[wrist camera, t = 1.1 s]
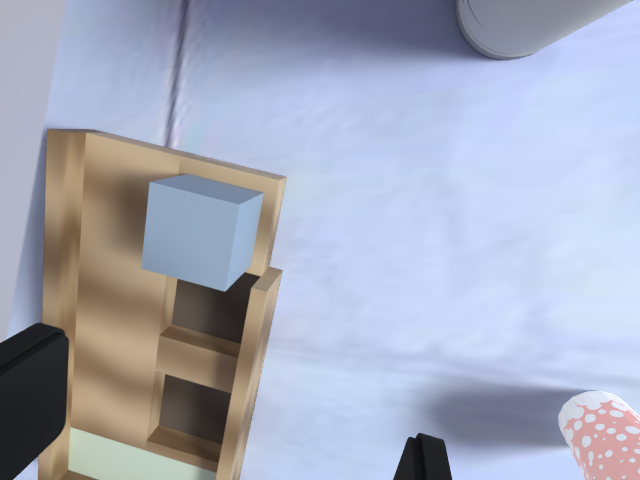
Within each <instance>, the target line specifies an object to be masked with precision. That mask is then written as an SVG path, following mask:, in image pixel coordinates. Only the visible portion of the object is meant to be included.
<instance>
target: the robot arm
mask: <svg viewBox="0 0 640 480" xmlns="http://www.w3.org/2000/svg"><path fill="white" fill-rule="evenodd" d="M68 359H69V339H68V337H66V336H65V332H64V330H63V329H61V328H58V327H54V326H51V325H47V324H44V323H37V324H34V325H32V326H30V327H28V328H27V329H25V330H23V331H21V332H20V333H18V334H16V335H14V336H12V337H11V338H9V339H7V340H5V341H3V342H2V343H0V480H13V479H14V478H15V477H16V476H17V475H19V474H20V473H21V472H22V471H23V470H24V469H25V468H26V467H27V466H28V465H29V464H30V463H31V462H32V461H33V460H34V459H35V458H36V457H38V456H39V455H40V454H41V453H42V452H43V451H44V450H45V449H46V448H47V447H48V446H49V445H50V444H51V443H52V442H53V441H54V440H56V439H57V437H58V436H59V435H60V434H61V432H62V431H63V429H64V426H65V423H66V407H67V383H68ZM393 480H452V476H451V471H450V466H449V461H448V456H447V451H446V446H445V443H444V441H443V439H439V438H436V437H432V436H429V435H425V434H422V433H418V435H417V436H416V438H412V437H409V438H408V439H407V442H406V445H405V448H404V450H403V453H402V456H401V459H400V462H399V465H398V468H397V470H396V473H395V476H394V479H393Z"/></svg>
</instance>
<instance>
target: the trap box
mask: <svg viewBox="0 0 640 480" xmlns="http://www.w3.org/2000/svg"><path fill="white" fill-rule="evenodd" d="M186 174H192V175H196V176H200V177H204V178H208V179H212V180H216V181H220V182H224V183H228V184H232V185H236V186H240V187H244V188H248V189H252V190H256V191H260V192H264V196H263V201H262V207H261V212H260V218H259V223H258V229H257V234H256V240H255V245H254V250H253V256H252V261H251V266H250V267H249V268H248V269H247V270H246V271H245V272H244V273H243V274H242V275H241V276H240V277H239V278H238V279H237V280H236V281H235V282H234V283H233V284H232V285H231V286H230V287H229V288H228V289H227V290H226V291H221V290H217V289H214V288H210V287H206V286H203V285H199V284H195V283H192V282H188V281H184V280H181V279H177V278H174V277H170V276H166V275H163V274H159V273H155V272H152V271H148V270H144V269H141V265H142V255H143V245H144V235H145V225H146V215H147V205H148V195H149V185H150V182H152V181H156V180H161V179H166V178H171V177H176V176H181V175H186ZM286 179H287V177H284V176H280V175H276V174H272V173H268V172H264V171H260V170H256V169H252V168H248V167H244V166H240V165H235V164H231V163H227V162H223V161H219V160H215V159H211V158H207V157H203V156H199V155H195V154H191V153H187V152H182V151H178V150H174V149H170V148H166V147H162V146H158V145H154V144H150V143H146V142H142V141H138V140H134V139H129V138H125V137H121V136H117V135H113V134H109V133H105V132H101V131H97V130H88V129H47V152H46V190H45V229H44V268H43V306H42V323H44V324H47V325H51V326H54V327H58V328H61V329H63V330H64V332H65V336H66V337H68V339H69V359H68V383H67V407H66V423H65V426H64V429H63V431H62V432H61V434H60V435H59V436H58V437H57V439H56V440H54V441H53V442H52V443H51V444H50V445H49V446H48V447H47V448H46V449H45V450H44V451H43V452H42V453H41V454H40V455H39V460H38V480H98V479H95V478H92V477H89V476H86V475H83V474H79V473H76V472H73V471H70V470H68V465H69V446H70V427H72V428H75V429H78V430H82V431H86V432H89V433H91V434H94V435H98V436H101V437H104V438H107V439H110V440H111V439H112V440H115V441H117V442H121V443H123V444H127V445H129V446H133V447H136V448H140V449H143V450H146V451H148V452H151V453H156V454H159V455H162V456H166V457H167V458H171V459H174V460H177V461H180V462H183V463H184V462H185V463H186V464H191V465H193V466H197V467H199V468H202V469H205V470H210V471H212V472H215V473H217V475H216V480H239V478H240V473H241V468H242V463H243V458H244V454H245V449H246V444H247V439H248V434H249V430H250V425H251V420H252V415H253V410H254V405H255V401H256V396H257V391H258V386H259V381H260V377H261V372H262V367H263V362H264V357H265V353H266V348H267V343H268V338H269V333H270V329H271V324H272V319H273V314H274V309H275V305H276V300H277V295H278V290H279V285H280V281H281V276H282V271H283V270H279V269H275V268H271V267H269V265H270V260H271V255H272V250H273V244H274V239H275V234H276V229H277V224H278V219H279V214H280V209H281V204H282V199H283V194H284V189H285V184H286Z"/></svg>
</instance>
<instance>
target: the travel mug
mask: <svg viewBox="0 0 640 480" xmlns="http://www.w3.org/2000/svg"><path fill="white" fill-rule="evenodd" d="M631 1H633V0H455V4H456V17H457V22H458V26H459V28H460V30H461V33H462V35H463V36H464V38H465V39H466V41H467V42H468V43H469V44H470V45H471V46H472V47H473V48H474V49H475V50H476V51H478V52H480V53H482V54H483V55H485V56H488V57H491V58H494V59H501V60H512V59H519V58H523V57H526V56H529V55H531V54H533V53H535V52H537V51H539V50H541V49H543V48H545V47H547V46H549V45H550V44H552V43H554V42H556V41H558V40H560V39H562V38H563V37H565V36H567V35H569V34H571V33H573V32H575V31H577V30H578V29H580V28H582V27H584V26H586V25H588V24H590V23H592V22H593V21H595V20H597V19H599V18H601V17H603V16H605V15H607V14H608V13H610V12H612V11H614V10H616V9H618V8H620V7H622V6H623V5H625V4H627V3H629V2H631Z"/></svg>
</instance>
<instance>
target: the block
mask: <svg viewBox="0 0 640 480" xmlns="http://www.w3.org/2000/svg"><path fill="white" fill-rule="evenodd" d="M263 196H264V192H260V191H256V190H252V189H248V188H244V187H240V186H236V185H232V184H228V183H224V182H220V181H216V180H212V179H208V178H204V177H200V176H196V175H192V174H186V175H181V176H176V177H171V178H166V179H161V180H156V181H152V182H150V185H149V195H148V205H147V215H146V225H145V235H144V245H143V255H142V265H141V269H144V270H148V271H152V272H155V273H159V274H163V275H166V276H170V277H174V278H177V279H181V280H184V281H188V282H192V283H195V284H199V285H203V286H206V287H210V288H214V289H217V290H221V291H226V290H227V289H228V288H229V287H230V286H231V285H232V284H233V283H234V282H235V281H236V280H237V279H238V278H239V277H240V276H241V275H242V274H243V273H244V272H245V271H246V270H247V269H248V268H249V267H250V266H251V261H252V256H253V250H254V245H255V240H256V234H257V229H258V223H259V218H260V212H261V207H262V201H263Z"/></svg>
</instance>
